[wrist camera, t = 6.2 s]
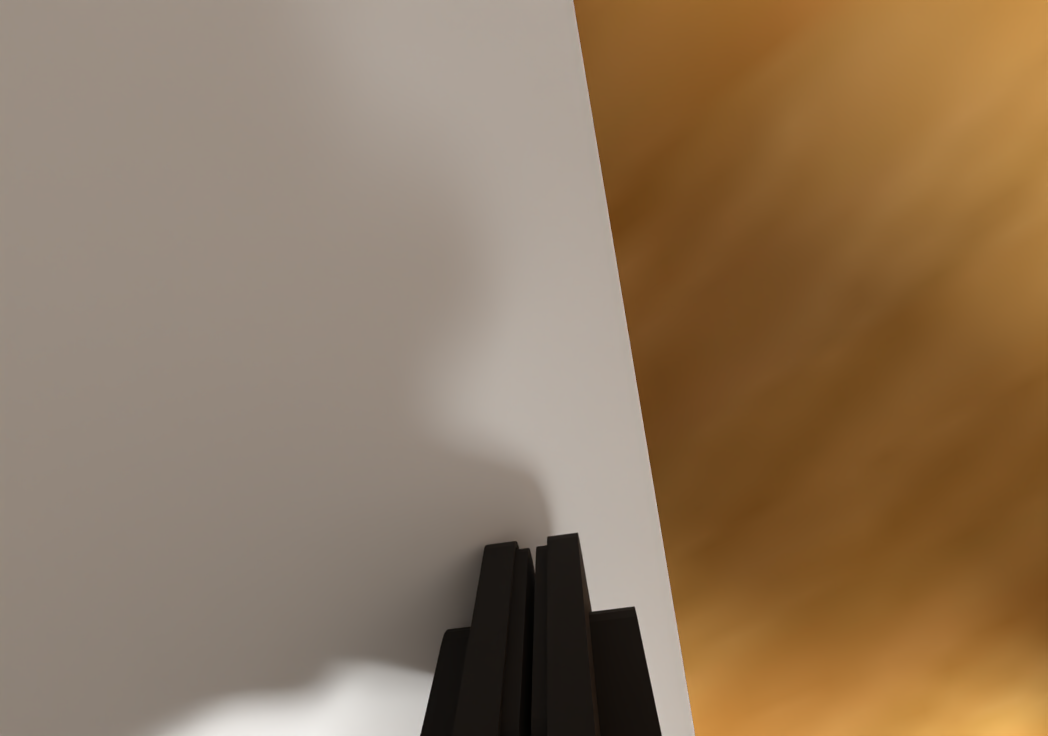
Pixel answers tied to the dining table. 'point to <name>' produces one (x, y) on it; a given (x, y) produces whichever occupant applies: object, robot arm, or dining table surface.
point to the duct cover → (300, 358)
